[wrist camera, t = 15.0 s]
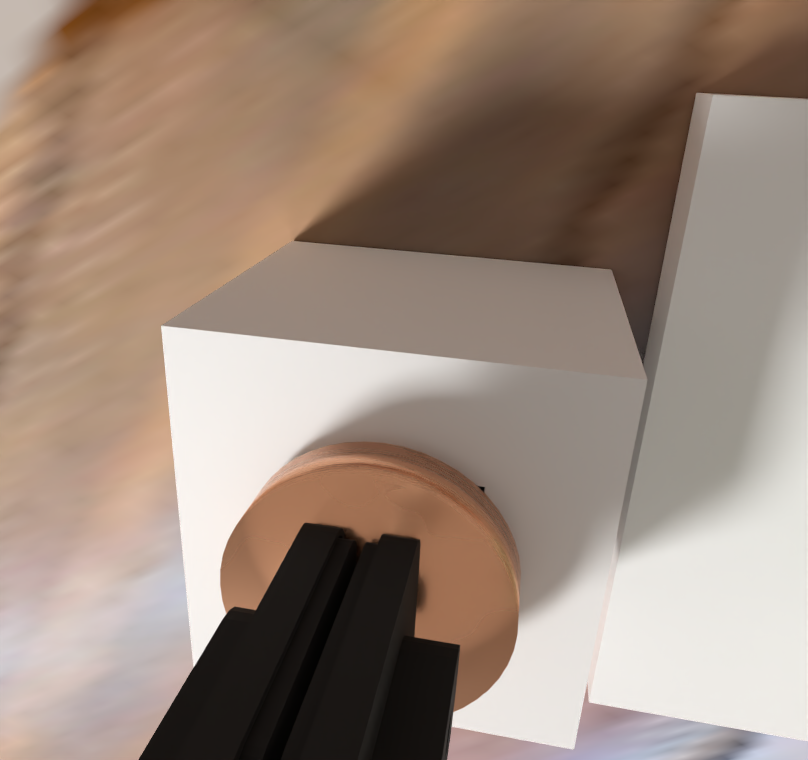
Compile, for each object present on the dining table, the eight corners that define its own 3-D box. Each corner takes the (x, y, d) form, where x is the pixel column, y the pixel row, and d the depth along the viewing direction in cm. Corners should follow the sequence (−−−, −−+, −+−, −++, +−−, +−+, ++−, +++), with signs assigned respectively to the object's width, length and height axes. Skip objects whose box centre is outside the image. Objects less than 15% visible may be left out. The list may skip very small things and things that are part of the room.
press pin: (331, 319, 15) (211, 456, 10) (540, 342, 15) (536, 501, 9) (330, 495, 17) (227, 694, 12) (517, 523, 16) (501, 746, 11)
